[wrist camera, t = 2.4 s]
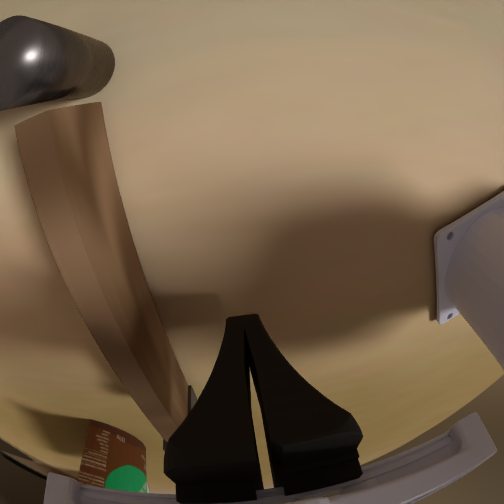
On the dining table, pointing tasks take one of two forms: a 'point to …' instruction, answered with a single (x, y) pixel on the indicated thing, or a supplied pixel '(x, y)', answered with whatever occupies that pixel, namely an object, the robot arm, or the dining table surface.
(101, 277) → the brown long bar
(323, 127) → the dining table surface
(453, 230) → the robot arm
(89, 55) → the hinge post
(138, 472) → the food container
